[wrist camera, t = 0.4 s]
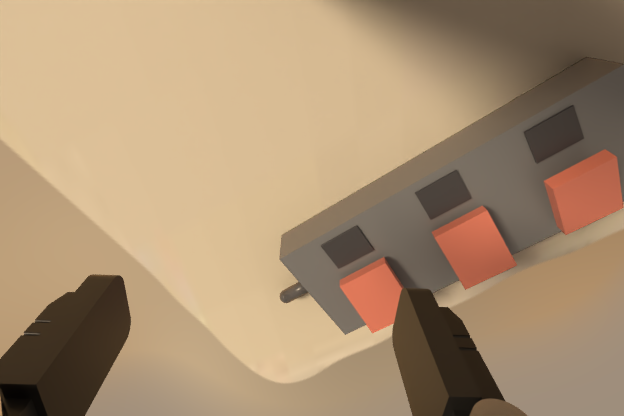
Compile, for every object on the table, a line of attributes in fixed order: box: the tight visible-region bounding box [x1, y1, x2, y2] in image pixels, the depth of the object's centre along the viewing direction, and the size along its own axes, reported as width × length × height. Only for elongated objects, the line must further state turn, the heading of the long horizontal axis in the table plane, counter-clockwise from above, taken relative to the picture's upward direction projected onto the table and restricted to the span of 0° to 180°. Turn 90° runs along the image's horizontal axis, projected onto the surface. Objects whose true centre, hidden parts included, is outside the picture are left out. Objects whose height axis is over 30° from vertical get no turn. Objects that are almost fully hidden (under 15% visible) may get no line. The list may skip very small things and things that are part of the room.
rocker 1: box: [340, 257, 404, 333], centre depth 30 cm, size 4×5×1 cm
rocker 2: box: [432, 206, 517, 290], centre depth 28 cm, size 4×5×1 cm
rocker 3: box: [544, 149, 623, 235], centre depth 26 cm, size 4×5×1 cm
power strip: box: [280, 57, 624, 335], centre depth 30 cm, size 30×10×4 cm, turn 123°
